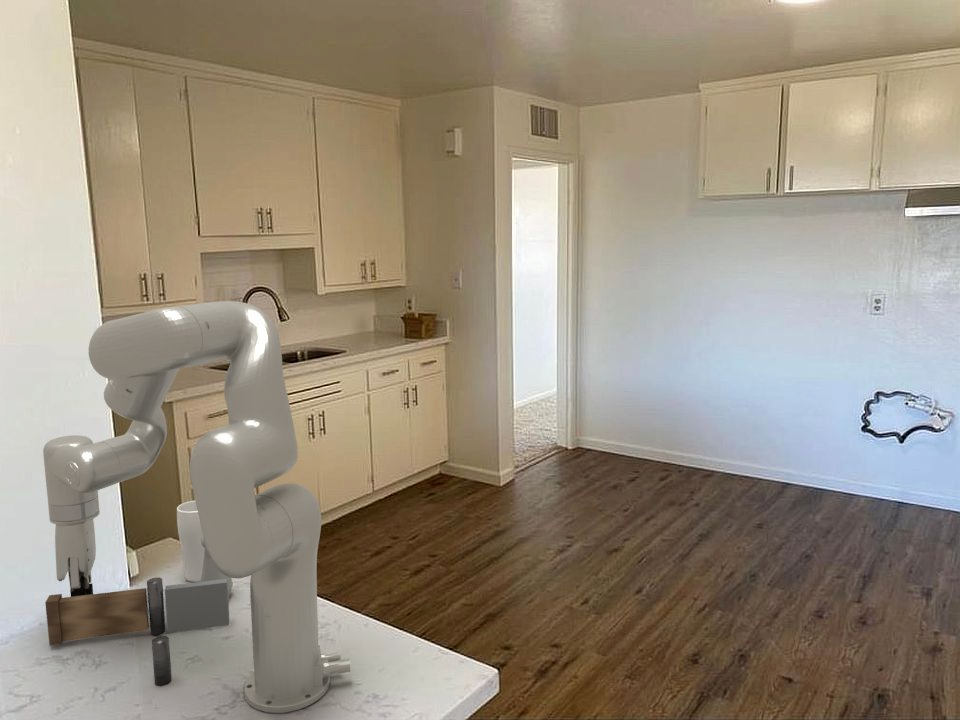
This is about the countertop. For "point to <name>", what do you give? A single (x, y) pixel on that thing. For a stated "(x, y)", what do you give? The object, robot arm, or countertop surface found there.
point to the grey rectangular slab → (197, 605)
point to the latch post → (161, 660)
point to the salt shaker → (212, 570)
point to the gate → (96, 615)
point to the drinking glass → (190, 540)
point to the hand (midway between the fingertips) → (83, 607)
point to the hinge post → (156, 606)
